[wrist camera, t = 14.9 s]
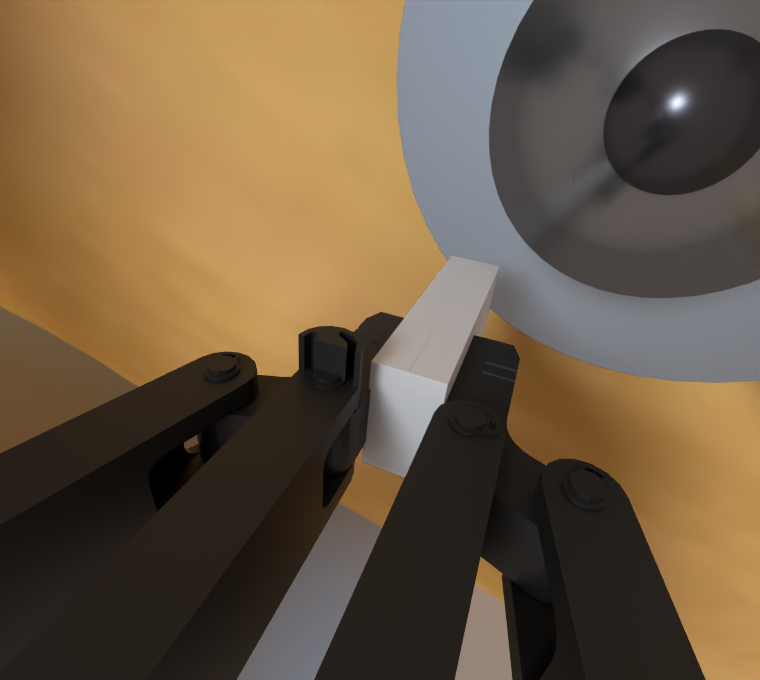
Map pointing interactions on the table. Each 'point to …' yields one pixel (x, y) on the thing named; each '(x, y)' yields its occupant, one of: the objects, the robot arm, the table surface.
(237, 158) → the table surface
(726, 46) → the cover
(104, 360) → the table surface
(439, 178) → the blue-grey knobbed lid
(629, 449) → the table surface
